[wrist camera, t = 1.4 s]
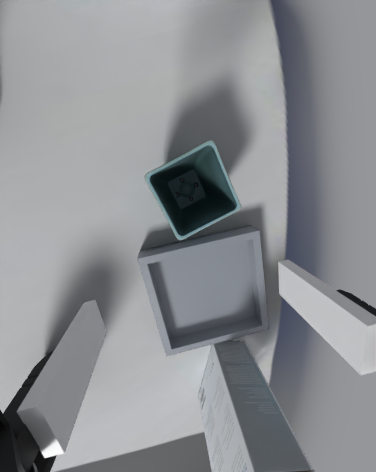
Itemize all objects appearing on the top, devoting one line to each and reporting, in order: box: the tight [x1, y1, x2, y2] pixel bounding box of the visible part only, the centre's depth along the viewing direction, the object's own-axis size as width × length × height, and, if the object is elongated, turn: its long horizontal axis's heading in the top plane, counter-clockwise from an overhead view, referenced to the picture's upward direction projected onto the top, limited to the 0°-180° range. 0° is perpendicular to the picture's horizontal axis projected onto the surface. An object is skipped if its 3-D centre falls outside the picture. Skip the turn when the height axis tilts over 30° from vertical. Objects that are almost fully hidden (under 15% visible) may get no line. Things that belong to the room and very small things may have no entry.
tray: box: [137, 226, 269, 356], centre depth 35 cm, size 19×19×4 cm
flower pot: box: [145, 140, 241, 240], centre depth 28 cm, size 9×9×9 cm
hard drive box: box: [198, 341, 315, 472], centre depth 34 cm, size 16×8×20 cm, turn 169°
